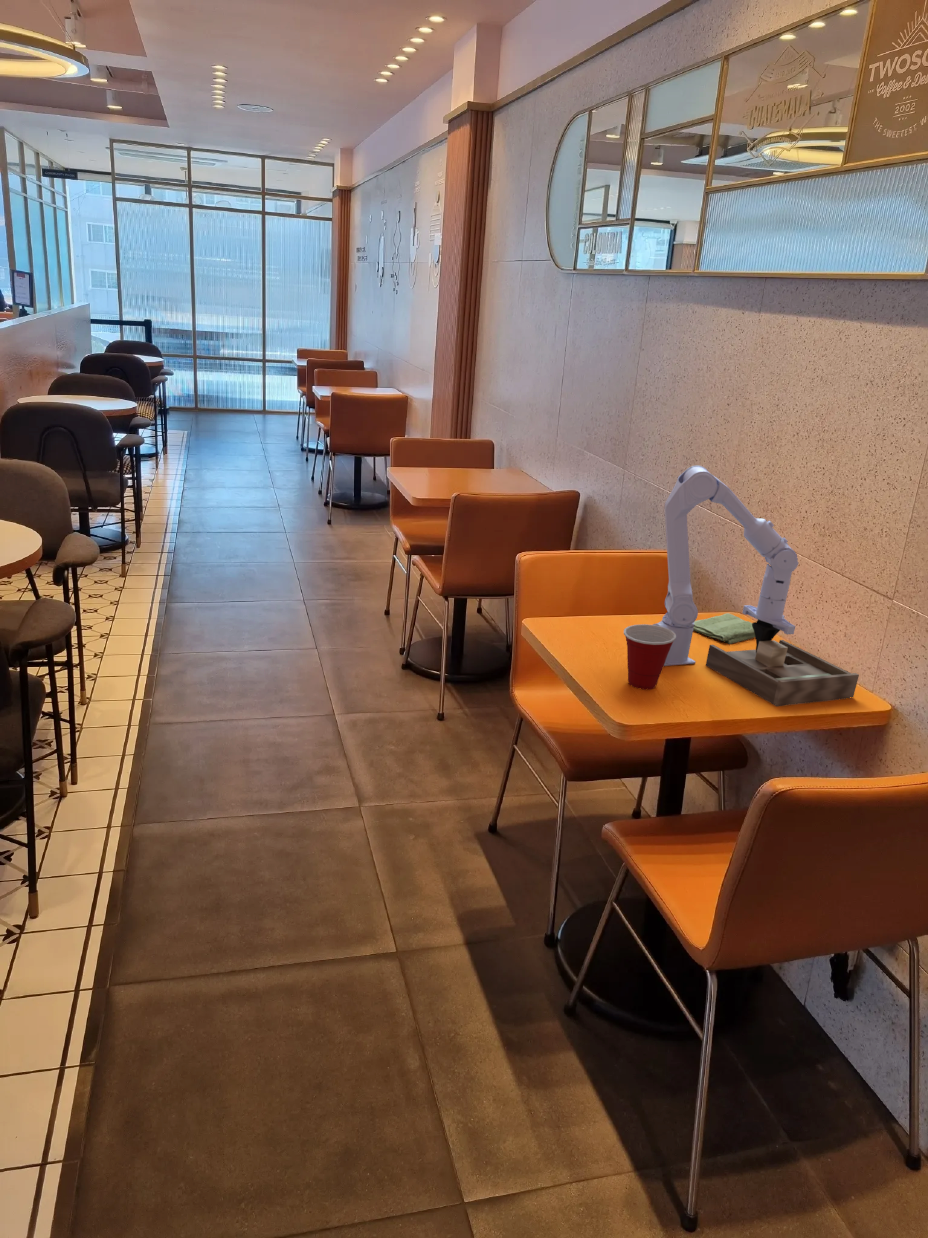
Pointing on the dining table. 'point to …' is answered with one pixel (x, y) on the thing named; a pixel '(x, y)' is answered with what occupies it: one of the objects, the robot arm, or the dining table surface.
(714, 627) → the washcloth
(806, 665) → the trap box
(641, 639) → the plastic cup
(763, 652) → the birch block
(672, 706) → the dining table surface
